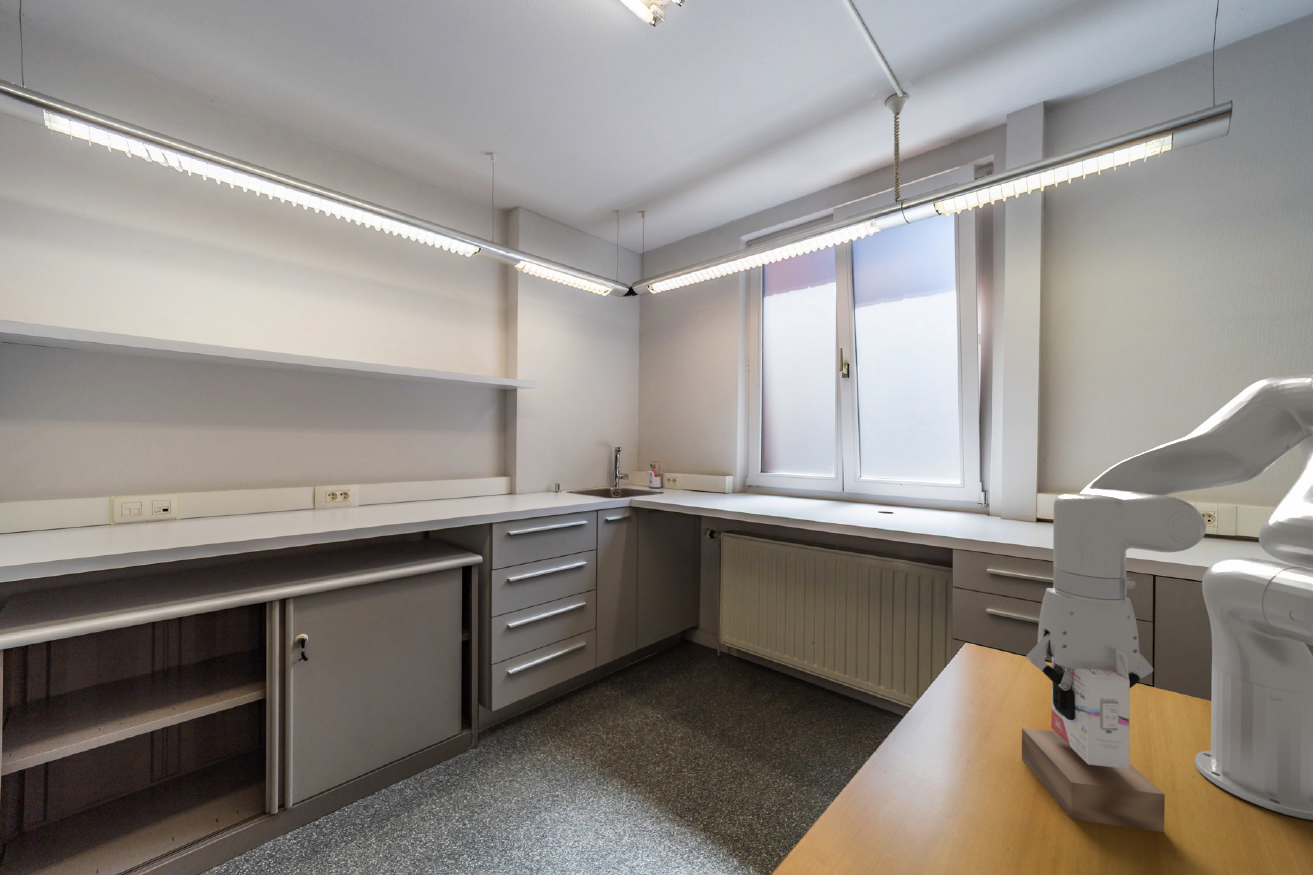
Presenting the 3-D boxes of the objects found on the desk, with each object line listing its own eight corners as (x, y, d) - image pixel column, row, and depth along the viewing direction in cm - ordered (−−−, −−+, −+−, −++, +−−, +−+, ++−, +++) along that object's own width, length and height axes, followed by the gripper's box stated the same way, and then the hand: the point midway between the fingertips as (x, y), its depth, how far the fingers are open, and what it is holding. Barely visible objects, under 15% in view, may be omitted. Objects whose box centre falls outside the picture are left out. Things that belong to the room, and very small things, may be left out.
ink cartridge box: (1048, 727, 72) (1049, 627, 72) (1087, 731, 71) (1088, 630, 71) (1087, 765, 64) (1087, 652, 64) (1131, 770, 63) (1132, 655, 63)
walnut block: (1098, 770, 72) (1098, 736, 72) (1164, 834, 61) (1164, 794, 61) (1021, 760, 74) (1021, 727, 74) (1071, 821, 63) (1071, 782, 63)
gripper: (1138, 579, 70) (1137, 708, 70) (1005, 573, 73) (1004, 696, 73) (1185, 596, 62) (1184, 740, 62) (1035, 589, 65) (1034, 725, 65)
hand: (1087, 715), depth 68 cm, fingers closed on ink cartridge box, 4 cm apart
